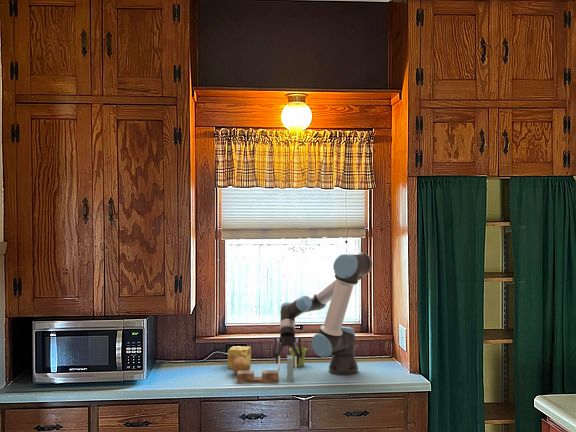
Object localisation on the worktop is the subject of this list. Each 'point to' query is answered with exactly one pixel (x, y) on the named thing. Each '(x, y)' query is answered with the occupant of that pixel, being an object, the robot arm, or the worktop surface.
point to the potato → (240, 365)
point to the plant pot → (301, 360)
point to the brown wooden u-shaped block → (267, 377)
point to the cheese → (238, 354)
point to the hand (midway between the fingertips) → (287, 368)
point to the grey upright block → (290, 367)
